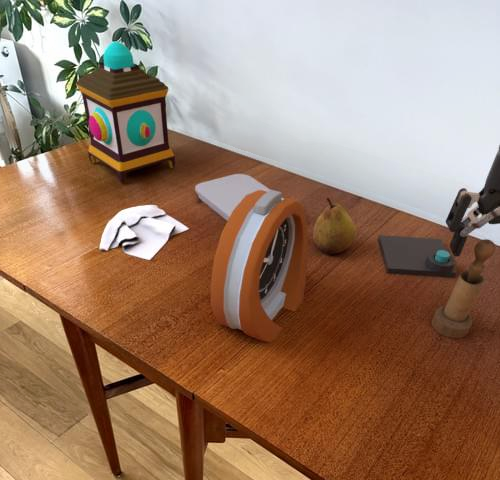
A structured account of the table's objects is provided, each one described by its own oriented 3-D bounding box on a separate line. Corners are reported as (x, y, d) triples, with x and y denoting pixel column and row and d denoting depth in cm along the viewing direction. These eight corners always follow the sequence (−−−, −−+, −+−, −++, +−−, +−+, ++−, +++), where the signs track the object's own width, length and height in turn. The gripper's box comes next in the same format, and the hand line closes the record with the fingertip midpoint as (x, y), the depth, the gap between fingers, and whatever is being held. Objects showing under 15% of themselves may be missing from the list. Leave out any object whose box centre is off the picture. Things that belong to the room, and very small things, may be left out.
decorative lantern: (120, 188, 119) (98, 55, 99) (82, 162, 130) (56, 38, 109) (183, 168, 130) (175, 44, 109) (143, 146, 140) (130, 29, 119)
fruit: (357, 245, 104) (368, 195, 95) (339, 264, 98) (350, 212, 90) (322, 233, 107) (331, 183, 99) (304, 250, 101) (311, 199, 93)
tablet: (243, 180, 126) (243, 171, 124) (304, 221, 110) (305, 213, 109) (190, 193, 118) (190, 185, 117) (248, 240, 103) (249, 231, 102)
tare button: (445, 256, 97) (448, 250, 96) (449, 263, 95) (451, 257, 94) (433, 255, 97) (435, 249, 96) (436, 262, 95) (438, 256, 94)
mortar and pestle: (453, 343, 81) (494, 257, 69) (423, 323, 85) (457, 238, 73) (475, 329, 84) (518, 244, 72) (446, 310, 88) (482, 226, 76)
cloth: (156, 201, 115) (155, 192, 113) (204, 241, 102) (203, 232, 101) (76, 224, 106) (74, 215, 104) (117, 271, 93) (115, 261, 91)
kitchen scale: (439, 244, 105) (443, 232, 103) (454, 278, 96) (459, 266, 94) (377, 240, 106) (380, 228, 104) (387, 274, 96) (390, 262, 94)
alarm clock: (259, 357, 77) (268, 238, 62) (209, 335, 80) (206, 218, 65) (312, 288, 91) (330, 178, 76) (268, 272, 95) (276, 164, 79)
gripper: (483, 162, 60) (443, 266, 71) (593, 170, 60) (535, 272, 71) (467, 141, 66) (431, 240, 77) (567, 148, 66) (517, 246, 77)
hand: (481, 255), depth 74 cm, fingers open, 8 cm apart
